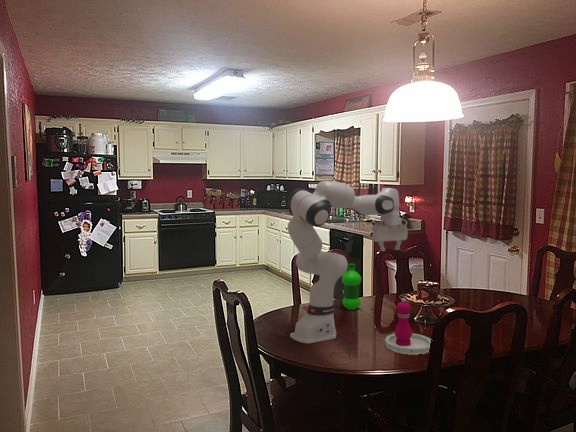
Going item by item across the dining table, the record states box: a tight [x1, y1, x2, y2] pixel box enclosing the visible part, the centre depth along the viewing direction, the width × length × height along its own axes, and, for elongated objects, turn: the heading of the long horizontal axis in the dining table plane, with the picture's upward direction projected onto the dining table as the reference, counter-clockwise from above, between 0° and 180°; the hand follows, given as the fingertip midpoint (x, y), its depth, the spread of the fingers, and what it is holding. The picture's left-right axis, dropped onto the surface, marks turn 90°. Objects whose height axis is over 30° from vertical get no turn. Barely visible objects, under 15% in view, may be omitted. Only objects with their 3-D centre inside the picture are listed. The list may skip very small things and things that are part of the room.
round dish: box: [384, 333, 432, 356], centre depth 211 cm, size 20×20×2 cm
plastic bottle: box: [341, 263, 362, 311], centre depth 268 cm, size 10×10×25 cm
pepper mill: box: [394, 297, 413, 346], centre depth 211 cm, size 7×7×20 cm
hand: (390, 250), depth 233 cm, fingers open, 8 cm apart
